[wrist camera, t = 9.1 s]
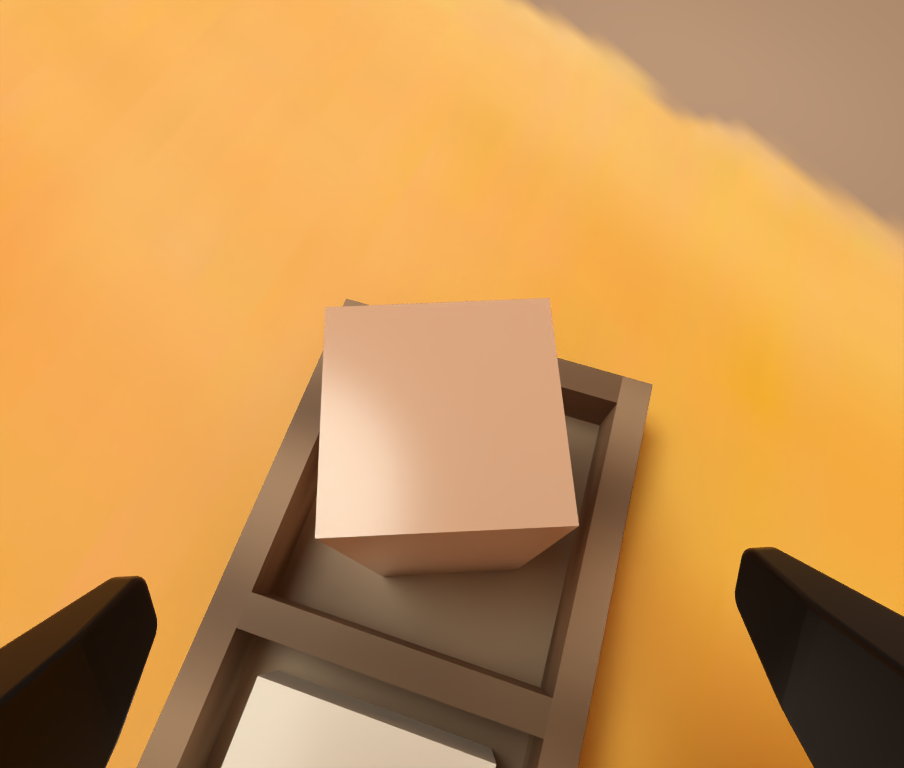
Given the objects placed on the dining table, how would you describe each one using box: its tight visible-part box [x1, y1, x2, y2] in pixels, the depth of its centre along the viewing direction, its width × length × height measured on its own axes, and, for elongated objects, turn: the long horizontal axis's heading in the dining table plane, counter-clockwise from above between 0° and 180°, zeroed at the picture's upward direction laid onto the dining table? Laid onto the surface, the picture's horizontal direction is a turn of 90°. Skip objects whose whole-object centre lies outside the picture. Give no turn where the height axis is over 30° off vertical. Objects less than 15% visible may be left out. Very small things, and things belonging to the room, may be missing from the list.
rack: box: [137, 299, 652, 768], centre depth 17 cm, size 21×11×3 cm, turn 162°
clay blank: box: [315, 298, 579, 576], centre depth 15 cm, size 4×4×10 cm
